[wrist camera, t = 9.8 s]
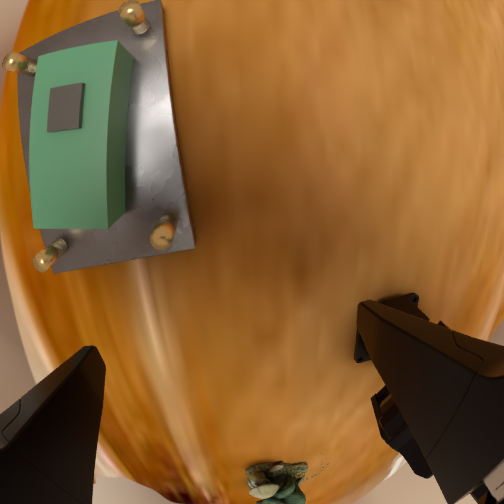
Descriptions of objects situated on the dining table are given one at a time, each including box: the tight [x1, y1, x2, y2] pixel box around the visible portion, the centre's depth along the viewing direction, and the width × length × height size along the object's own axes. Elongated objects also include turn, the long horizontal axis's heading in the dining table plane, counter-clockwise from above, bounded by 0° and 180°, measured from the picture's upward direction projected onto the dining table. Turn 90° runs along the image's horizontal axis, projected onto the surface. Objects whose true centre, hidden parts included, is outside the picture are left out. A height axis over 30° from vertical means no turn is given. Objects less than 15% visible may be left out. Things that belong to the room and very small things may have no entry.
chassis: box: [2, 0, 196, 274], centre depth 14 cm, size 17×11×4 cm, turn 7°
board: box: [29, 40, 134, 229], centre depth 13 cm, size 10×5×4 cm, turn 175°
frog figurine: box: [245, 454, 328, 504], centre depth 29 cm, size 18×18×12 cm
